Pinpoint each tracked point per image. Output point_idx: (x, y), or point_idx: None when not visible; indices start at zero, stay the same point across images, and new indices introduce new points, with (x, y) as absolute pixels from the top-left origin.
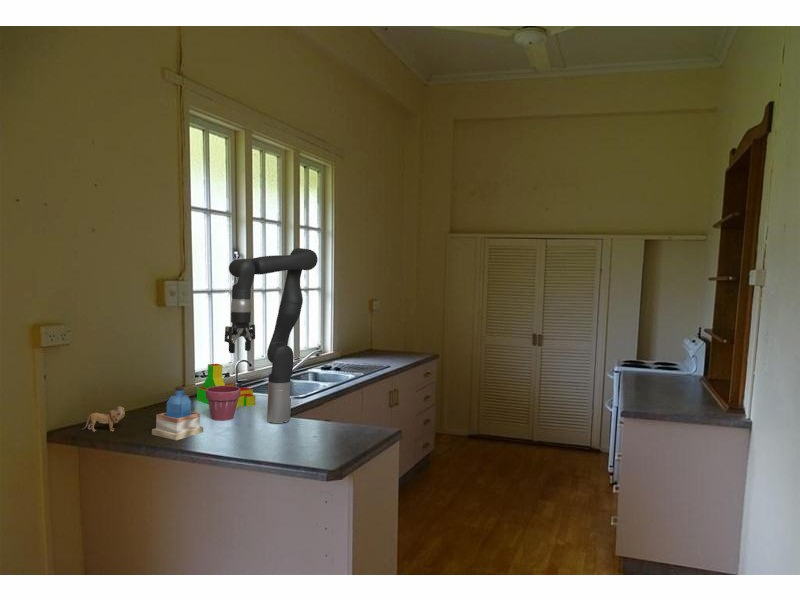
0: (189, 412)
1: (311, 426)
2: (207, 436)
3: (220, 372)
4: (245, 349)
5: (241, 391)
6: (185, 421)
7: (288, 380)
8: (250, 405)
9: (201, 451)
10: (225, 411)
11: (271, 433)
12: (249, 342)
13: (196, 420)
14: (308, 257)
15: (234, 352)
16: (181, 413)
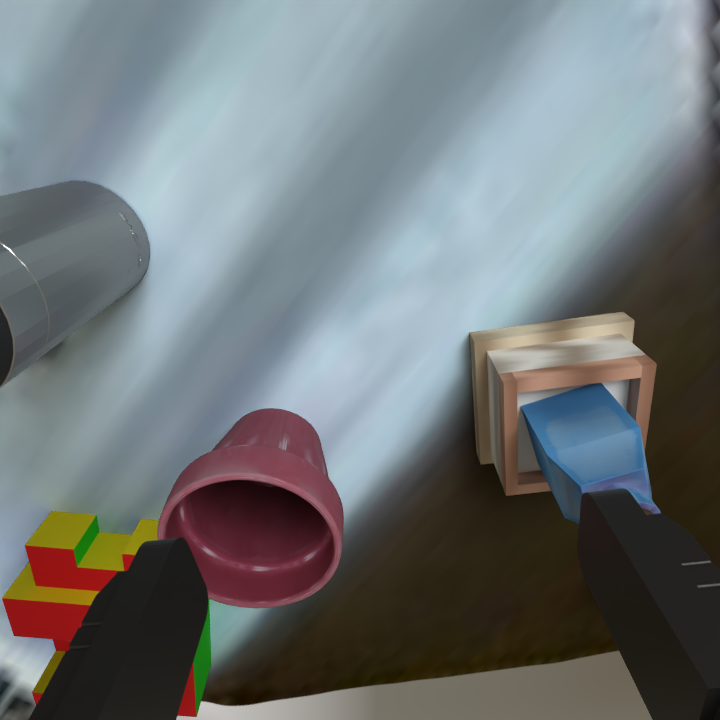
0: (537, 416)
1: None
2: (501, 269)
3: None
4: (201, 609)
5: (66, 601)
6: (589, 361)
7: None
8: (74, 514)
9: (696, 81)
10: (289, 429)
11: (248, 72)
12: (91, 717)
13: (517, 365)
14: None
15: (594, 492)
16: (609, 400)
